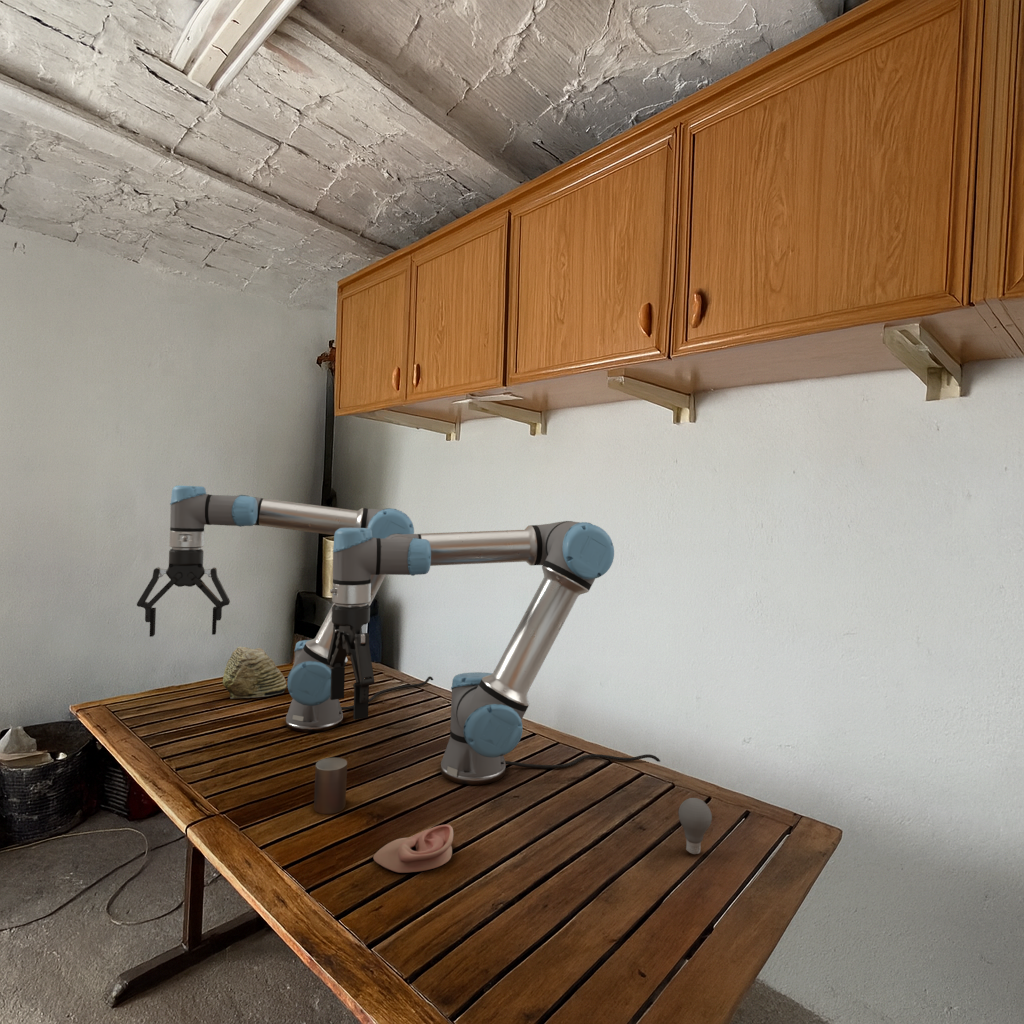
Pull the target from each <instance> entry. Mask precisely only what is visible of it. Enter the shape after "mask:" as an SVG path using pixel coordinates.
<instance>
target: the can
mask: <svg viewBox="0 0 1024 1024" xmlns="http://www.w3.org/2000/svg"><path fill="white" fill-rule="evenodd" d="M314 770H315V772H314V798H313V810H314V812H316V813H317V814H321V815H333V814H336V813H339V812H342V811H343V810H344V809H345V808H346V803H347V802H346V801H347V781H348V780H347V778H348V776H347V775H348V761H347V760H346V759H345V758H342V757H326V758H325V757H324V758H322V759H320V760H318V761H317V762H316V763H315V769H314Z"/></svg>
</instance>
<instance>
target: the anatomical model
mask: <svg viewBox="0 0 1024 1024" xmlns="http://www.w3.org/2000/svg"><path fill="white" fill-rule="evenodd" d="M454 834H455V833H454V829H453V826H452V825H450V824H441V825H437V826H433V827H430V828H427V829H425V830H422V831H420V832H418V833H416V834H414V835H411V836H409V837H399V838H397V839H393V840H392V841H390V842H388V843H387V844H385V845H383V846H382V847H381V848H379V850H377V851H376V852H375V853H374V855H373V856H372V857H373V861H374V862H375V863H377V864H378V865H380V866H381V867H383V868H384V869H386V870H389V871H392V872H395V873H398V874H399V873H401V874H405V873H406V874H407V873H408V874H409V873H417V872H423V871H429V870H432V869H436V868H439V867H441V866H443V865H444V864H447V863H448V862H449V861H450V860H451V859H452V855H453V846H452V844H453V842H454V836H455V835H454Z"/></svg>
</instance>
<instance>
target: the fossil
mask: <svg viewBox="0 0 1024 1024" xmlns="http://www.w3.org/2000/svg"><path fill="white" fill-rule="evenodd" d="M222 676H223V677H222V685H223V687H224V688H225V690H226V691H228V693H229V698H230V699H250V698H264V697H271V696H275V695H281V694H284V693H285V691H286V689H287V688H288V686H287V680H286V678H285V676H284V674H283V673H282V672H281V669H279V668H278V667H277V665H276V663H275V662H274V660H273V659H272V658H271V657H270V656H269V655H268V654H267V653H266V652H265V650H264V649H263V648H260V647H258V648H251V647H247V646H246V647H245V646H238V647H237V648H236V649H235V650H233V651H232V653H231V656H230V657H229V659H228V660H227V663H226V666H225V668H224V671H223V675H222Z"/></svg>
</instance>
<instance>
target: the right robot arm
mask: <svg viewBox="0 0 1024 1024" xmlns="http://www.w3.org/2000/svg"><path fill="white" fill-rule="evenodd" d="M332 549H333V550H332V588H330V589H329V593H330V594H332V597H331V602H332V603H335V605H333V604H332V605H333V606H332V605H331V607H332V623H333V634H332V639H331V644H330V649H329V653H328V658H327V661H328V663H329V662H330V667H332V668H331V695H330V699H331V700H335V699H339V700H341V699H345V681H346V679H345V678H346V677H345V674H346V668H345V667H347V663H345V659H346V656H348V657H350V662H351V666H352V671H353V675H354V680H355V682H354V683H353V684H352V687H353V705H354V708H353V717H352V719H353V720H355V721H357V720H361V719H368V718H369V704H370V702H369V699H370V696H369V695H370V685H374V684H375V675H374V670H373V669H374V668H373V664H372V663H373V662H372V656H371V655H372V654H371V649H370V633H369V632H363V629H362V627H363V626H364V625H367V624H369V623H370V620H371V605H370V606H369V605H368V604H367V603H369V602H370V601H371V579H370V578H371V575H379V574H386V576H387V575H394V576H398V575H399V576H412V577H414V576H419V575H420V576H421V575H426V574H428V573H429V572H430V569H431V567H436V566H438V567H439V566H457V565H479V564H480V565H482V564H503V563H523V562H524V563H527V564H528V565H529V566H530V567H531V566H541V569H542V573H543V579H542V580H541V582H540V584H539V586H538V588H537V590H536V591H535V594H534V595H533V597H532V599H531V601H530V603H529V605H528V607H527V608H526V610H525V612H524V614H523V616H522V617H521V620H520V622H519V623H518V625H517V627H516V629H515V631H514V632H513V634H512V637H511V638H510V640H509V642H508V644H507V646H506V648H505V650H504V651H503V653H502V654H501V657H500V658H499V661H498V663H497V665H496V667H495V669H494V670H493V672H479V671H478V672H476V671H474V672H463V673H458V674H455V676H454V677H453V678H452V684H451V687H450V690H451V700H450V701H451V703H450V725H449V726H450V729H449V739H448V742H447V745H446V747H445V750H444V753H443V757H442V759H441V761H440V773H441V775H442V776H443V777H444V778H445V779H447V780H448V781H451V782H453V783H457V784H461V785H470V786H478V785H479V786H480V785H488V784H491V783H495V782H497V781H500V780H501V779H502V778H504V776H505V775H506V765H507V766H515V767H521V768H528V769H529V768H530V769H546V770H549V769H553V770H554V769H564V768H569V767H571V766H574V765H576V764H578V763H579V762H580V761H582V760H585V759H591V758H593V759H595V758H599V759H607V760H614V761H620V762H621V761H622V762H634V761H638V760H642V759H652V760H654V761H656V762H657V763H660V762H661V759H660V758H659V757H657V756H656V755H653V754H650V753H649V754H648V753H647V754H641V755H638V756H632V757H622V756H614V755H613V756H612V755H608V754H599V753H597V754H596V753H593V754H585V755H581V756H579V757H577V758H575V759H574V760H573V761H569V762H567V763H561V764H533V763H523V762H518V761H510V760H505V755H507V754H509V753H511V752H512V751H513V750H514V749H515V748H516V747H517V746H518V744H519V743H520V742H521V739H522V736H523V728H524V727H523V718H524V716H525V714H526V713H527V710H528V708H529V707H530V700H529V696H528V692H529V691H530V689H531V687H532V686H533V683H534V681H535V680H536V677H537V675H538V674H539V672H540V670H541V668H542V666H543V665H544V662H545V660H546V659H547V657H548V654H549V653H550V652H551V649H552V647H553V645H554V643H555V641H556V640H557V638H558V635H559V634H560V632H561V630H562V628H563V626H564V624H565V622H566V621H567V618H568V616H569V614H570V613H571V612H572V609H573V607H574V605H575V603H576V601H577V599H578V598H579V597H580V596H581V595H583V594H587V593H589V592H590V590H591V588H592V586H593V585H594V583H595V580H596V579H599V578H601V577H602V576H604V575H605V574H606V573H607V572H609V570H610V568H611V567H612V565H613V563H614V558H615V546H614V543H613V539H611V536H610V535H609V533H608V532H607V531H606V530H604V529H603V528H602V527H600V526H599V525H596V524H593V523H592V522H586V521H582V522H580V521H573V520H563V521H557V522H551V523H544V524H543V523H542V524H531V525H528V526H526V527H525V528H524V529H509V530H508V529H507V530H482V531H481V530H480V531H456V532H455V531H454V532H429V533H414V534H401V533H395V534H391V535H388V536H387V537H386V538H382V539H380V538H373V535H372V531H371V529H368V528H339V529H338V530H337V531H336V532H335V534H334V535H333V548H332ZM332 655H333V656H332ZM345 664H346V665H345ZM341 666H345V667H341Z"/></svg>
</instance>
